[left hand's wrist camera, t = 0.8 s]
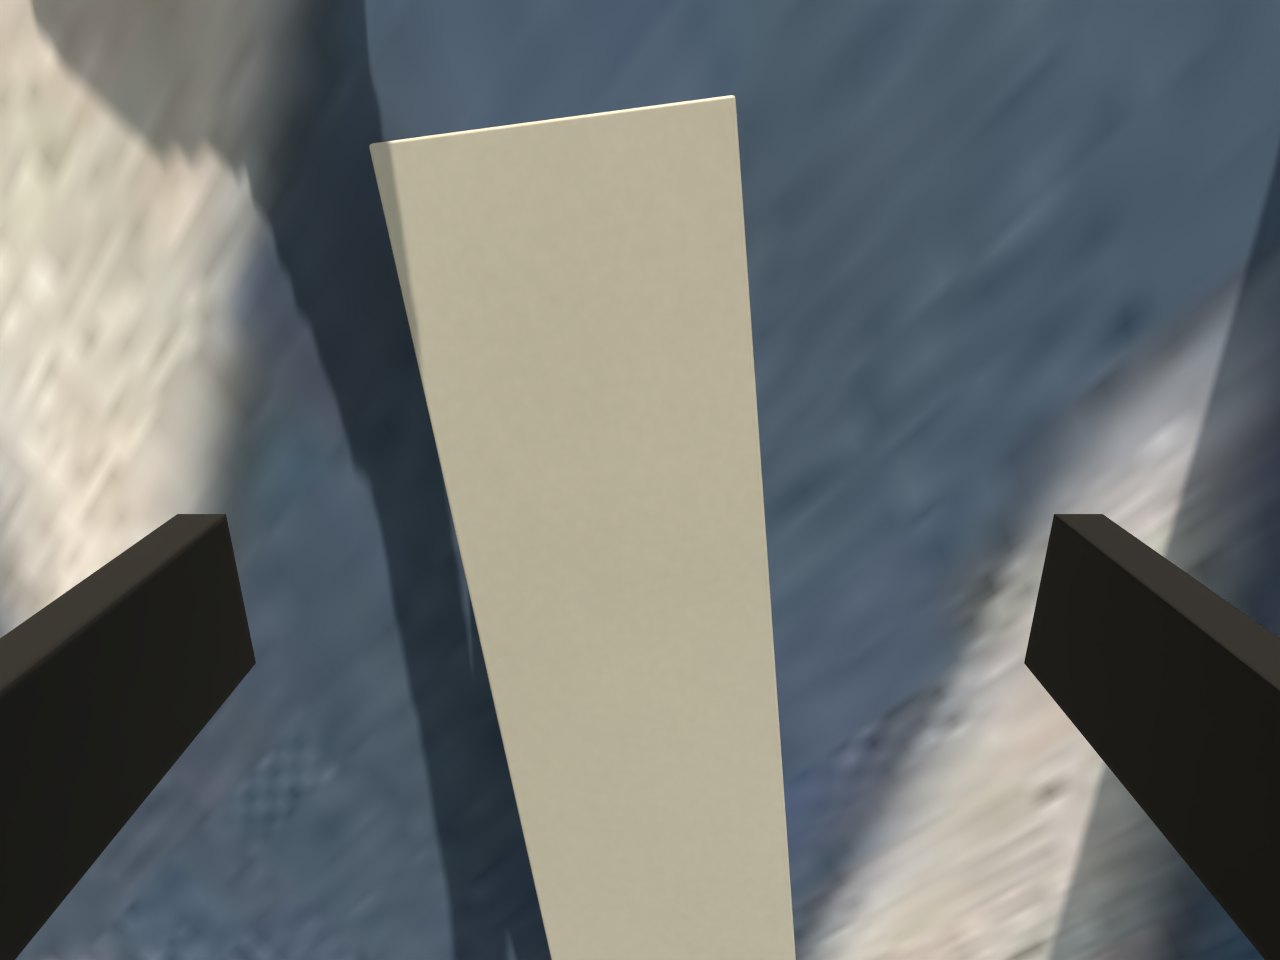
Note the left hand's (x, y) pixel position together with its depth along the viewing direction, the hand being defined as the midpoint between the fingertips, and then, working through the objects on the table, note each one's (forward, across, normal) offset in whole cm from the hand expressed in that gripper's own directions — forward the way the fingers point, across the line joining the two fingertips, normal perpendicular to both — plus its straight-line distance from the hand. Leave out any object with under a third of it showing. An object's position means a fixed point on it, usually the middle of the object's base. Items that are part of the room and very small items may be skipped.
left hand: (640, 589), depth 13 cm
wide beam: (+18, +2, -25) cm, 31 cm away
